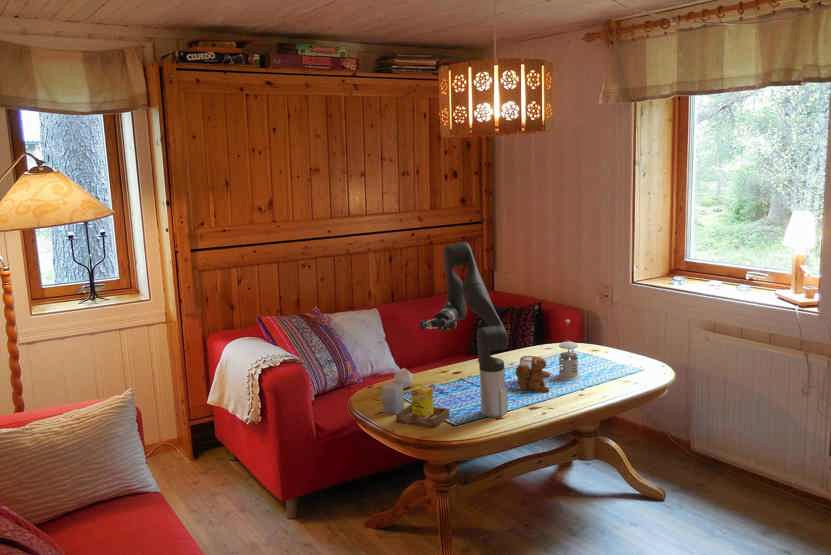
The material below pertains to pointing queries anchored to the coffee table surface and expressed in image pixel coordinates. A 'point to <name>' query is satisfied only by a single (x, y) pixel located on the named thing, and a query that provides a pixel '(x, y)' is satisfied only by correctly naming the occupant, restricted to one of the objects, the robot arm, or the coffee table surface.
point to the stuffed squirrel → (533, 376)
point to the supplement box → (422, 402)
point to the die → (403, 378)
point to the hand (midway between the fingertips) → (433, 328)
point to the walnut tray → (434, 421)
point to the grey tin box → (392, 398)
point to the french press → (568, 366)
